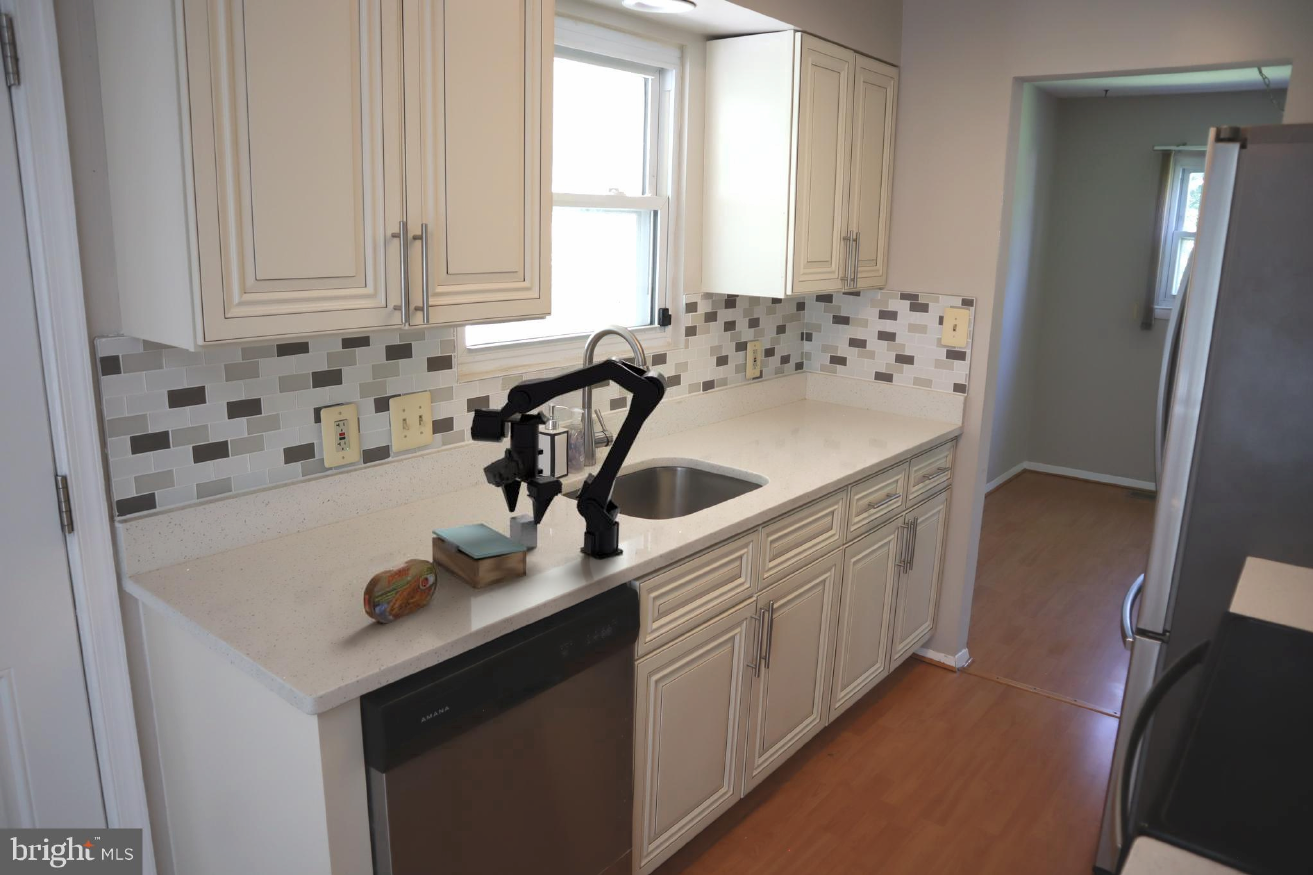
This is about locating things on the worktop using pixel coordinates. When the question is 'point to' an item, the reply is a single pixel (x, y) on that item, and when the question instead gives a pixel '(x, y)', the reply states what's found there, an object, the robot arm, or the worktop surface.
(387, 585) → the tin
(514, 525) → the block
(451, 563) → the box
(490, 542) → the lid
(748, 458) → the worktop surface
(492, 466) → the robot arm
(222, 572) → the worktop surface
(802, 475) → the worktop surface
